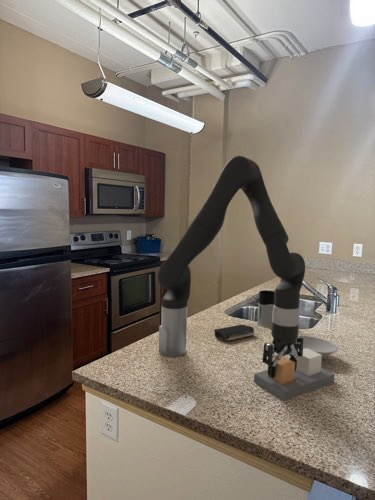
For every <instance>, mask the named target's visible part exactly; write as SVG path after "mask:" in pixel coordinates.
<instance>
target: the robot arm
mask: <svg viewBox="0 0 375 500" xmlns="http://www.w3.org/2000/svg"><path fill="white" fill-rule="evenodd" d="M264 181H265V180H264V178H263V175H262V172H261V169H260V166H259V165H258V164H257V162H256V161H254V160H252V159H250V158H248V157H245V156H243V155H236V156H233V157H232V158H230V159H229V160H228V161H227V162H226V163H225V164H224V166H223V168H222V171H221V172H220V174H219V176H218V178H217V180H216V182H215V184H214V186H213V188H212V190H211V192H210V193H209V195H208V196H207V198H206V200H205V201H204V202H203V205H202V206H201V208H200V209H199V210H198V212H197V213H196V214H195V216H194V218H193V219H192V220H191V223H190V224H189V225H188V228H187V229H186V230H185V232H184V234H183V235H182V237H181V238H180V241H178V243H177V245H176V246H175V248H174V250H173V251H172V252H171V254H170V255H169V256H168V257H167V258H166V260H165V261H164V262H163V263H162V264H161V266H160V267H159V270H158V273H157V280H158V284H159V285H160V286H161V287H162V288H163V289H166V290H167V291H166V293H165V294H164V295H163V296H162V298H161V319H160V321H161V323H160V324H161V325H159V327H158V351H159V352H160V353H161V354H162V355H164V356H165V357H179V356H183V355H185V354H186V352H187V333H188V331H187V329H188V328H187V325H188V321H187V320H188V302H189V299H190V293H191V281H192V280H191V279H192V276H191V275H192V274H191V269H190V264H191V263H192V261H193V260H194V259H195V258H196V257H197V256H199V255H200V254H201V253H202V252H204V251H205V249H207V247H209V246H210V245H211V243H212V242H213V241H214V240H215V238H216V237H217V235H218V233H219V232H220V231H221V229H222V227H223V225H224V222H225V218H226V214H227V213H226V212H227V209H228V206H229V205H230V202H231V201H232V200H233V198H234V197H235V195H236V193H238V191H239V190H240V189H241V190H242V192H243V194H244V195H245V196H246V197H247V199H248V202H249V204H250V206H251V210H252V213H253V219H254V224H255V226H256V230H257V231H258V234H259V235H260V238H261V239H262V241H263V243H264V245H265V249H266V254H267V259H268V263H269V266H270V268H271V270H272V272H273V274H274V275H275V276H276V277H278V278H279V279H280V282H279V284H278V285H277V286H276V287H275V289H274V292H275V295H274V308H273V314H272V327H271V336H272V338H273V339H272V342H270V343H269V342H264V343H263V351H262V352H263V353H262V363H264V364H266V365H267V370H268V375H269V376H270V377H271V378H275V376H276V364H277V362H278V360H280V359H281V358H282V356H283V357H285V356H288V355H289V358H288V359H289V360H291V361H293V362H295V371H296V368H297V360H298V358H299V356H301V357H302V356H303V338H302V337H299V336H298V335H299V327H300V297H301V296H300V292H301V289H302V286H303V282H304V278H305V273H306V261H305V259H304V257H303V256H302V255H301V254H300V253H298V252H290V249H289V248H288V244H287V243H288V242H289V236H288V233H287V232H286V229H285V228H284V225H283V224H282V221H281V220H280V218H279V216H278V213H277V212H276V210H275V208H274V205H273V203H272V201H271V199H270V196H269V193H268V190H267V188H266V185H265V182H264ZM298 349H299V351H298ZM273 358H275V359H274V361H272V359H273Z"/></svg>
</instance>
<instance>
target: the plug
mask: <svg viewBox="0 0 375 500" xmlns="http://www.w3.org/2000/svg"><path fill="white" fill-rule="evenodd" d="M274 359H275V358H273V359H272V361H274ZM294 372H295V362H293V361H291V360H289V358H287V357H285V356H282V358H281V359H280V360H278V362H277V364H276V376H275V378H271V377H270V376H269V377H270V378H271V379H273V380H275V381H276V382H278V383H280V384H281V385H284V384H287V383H290V382H293V381H294Z"/></svg>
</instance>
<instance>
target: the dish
mask: <svg viewBox="0 0 375 500" xmlns="http://www.w3.org/2000/svg"><path fill="white" fill-rule="evenodd" d="M298 336H299V337H302V338H303V349H306V348H307V349H310V350H312V351H314V352H316V353H319V354H321V355H322V358H325V357H328V356H330V355H332V354H333V353H337V352H338V350H339V347H338V346H337V344H335V343H333V342H331V341H329V340H328V339H324V338H320V337H316V336H312V335H304V334H302V335H301V334H298ZM298 351H299V349H298Z"/></svg>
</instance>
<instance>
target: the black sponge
mask: <svg viewBox="0 0 375 500" xmlns="http://www.w3.org/2000/svg"><path fill="white" fill-rule="evenodd" d="M213 331H214V337H217V338H219V339H221V340H224V341H226V342H229V341H233V340H238V339H243V338H245V337H246V338H247V337H250V336H251V337H252V336H253V335H254V334H255V329H254V327H253V326H249V325H245V324H237V325H231V326H227V327H221V328H216V329H213Z"/></svg>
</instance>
